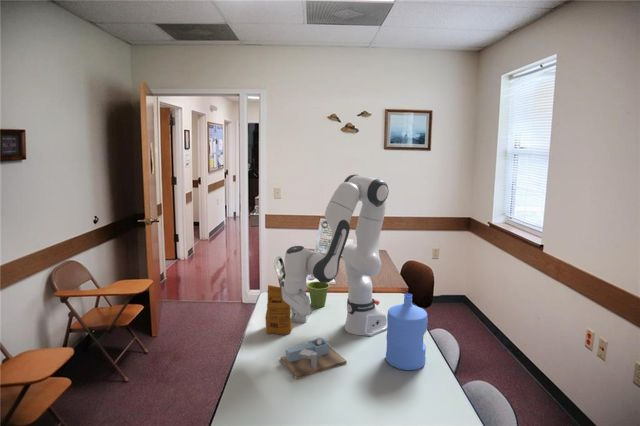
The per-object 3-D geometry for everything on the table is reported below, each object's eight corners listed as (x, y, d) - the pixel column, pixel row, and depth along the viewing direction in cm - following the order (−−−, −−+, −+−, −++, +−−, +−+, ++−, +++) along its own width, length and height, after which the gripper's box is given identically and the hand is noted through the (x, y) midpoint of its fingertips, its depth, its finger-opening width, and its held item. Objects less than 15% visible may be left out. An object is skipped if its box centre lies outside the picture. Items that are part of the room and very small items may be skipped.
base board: (327, 347, 184) (327, 344, 184) (346, 363, 171) (346, 360, 171) (280, 360, 174) (280, 357, 174) (296, 378, 161) (296, 375, 161)
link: (321, 346, 182) (321, 337, 182) (329, 353, 177) (329, 344, 176) (284, 356, 174) (284, 347, 173) (290, 363, 169) (290, 354, 168)
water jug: (402, 375, 163) (405, 305, 158) (378, 356, 177) (380, 291, 172) (433, 365, 170) (437, 298, 165) (408, 347, 184) (411, 285, 179)
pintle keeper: (315, 349, 180) (315, 336, 179) (329, 352, 177) (329, 339, 176) (298, 367, 166) (298, 353, 165) (314, 371, 163) (314, 357, 162)
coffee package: (267, 325, 205) (266, 281, 201) (293, 326, 204) (293, 281, 200) (263, 335, 195) (262, 288, 191) (291, 335, 194) (290, 289, 190)
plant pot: (329, 309, 223) (329, 289, 220) (306, 309, 223) (306, 289, 221) (329, 301, 234) (329, 281, 232) (307, 300, 234) (307, 281, 232)
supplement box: (306, 323, 207) (305, 298, 205) (291, 321, 209) (290, 297, 206) (309, 316, 214) (309, 292, 212) (295, 315, 216) (294, 291, 213)
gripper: (314, 292, 168) (314, 326, 170) (292, 277, 185) (292, 307, 188) (299, 295, 165) (300, 329, 167) (278, 279, 182) (279, 310, 185)
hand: (295, 317), depth 178 cm, fingers closed
